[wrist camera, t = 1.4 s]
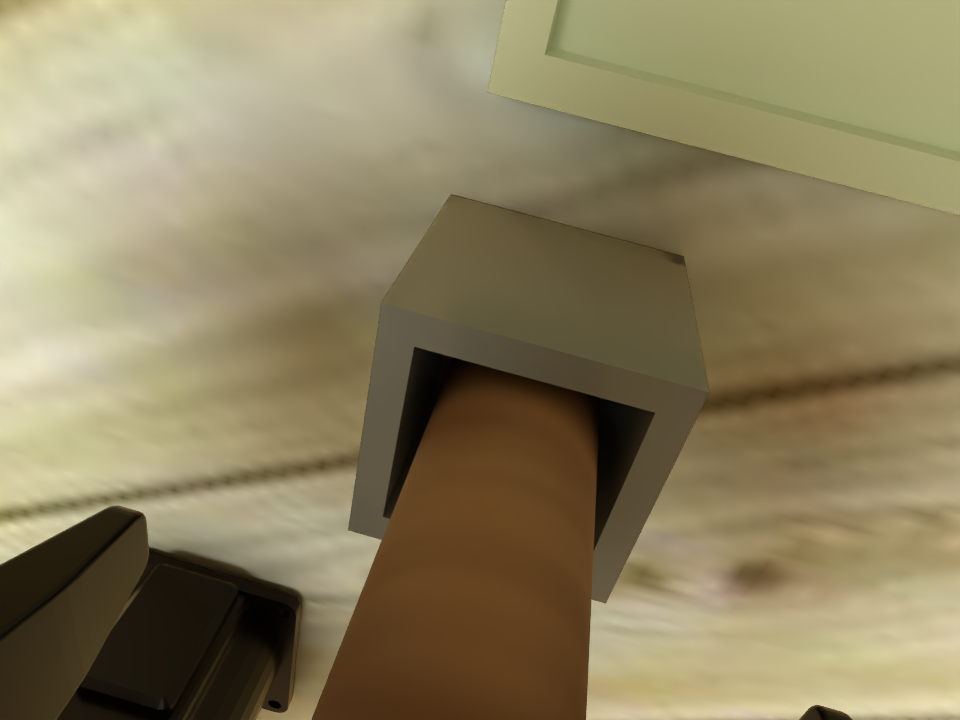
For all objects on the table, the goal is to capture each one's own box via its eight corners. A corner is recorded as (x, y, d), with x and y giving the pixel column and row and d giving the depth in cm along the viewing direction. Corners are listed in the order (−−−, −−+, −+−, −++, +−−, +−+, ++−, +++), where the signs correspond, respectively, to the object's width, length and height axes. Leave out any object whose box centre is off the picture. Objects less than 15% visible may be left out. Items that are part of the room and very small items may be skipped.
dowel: (580, 407, 16) (536, 925, 8) (456, 373, 16) (280, 848, 8) (621, 295, 14) (620, 801, 6) (483, 259, 15) (295, 706, 6)
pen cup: (609, 437, 17) (605, 603, 13) (414, 384, 17) (348, 529, 13) (683, 256, 14) (709, 392, 10) (450, 194, 14) (381, 302, 10)
